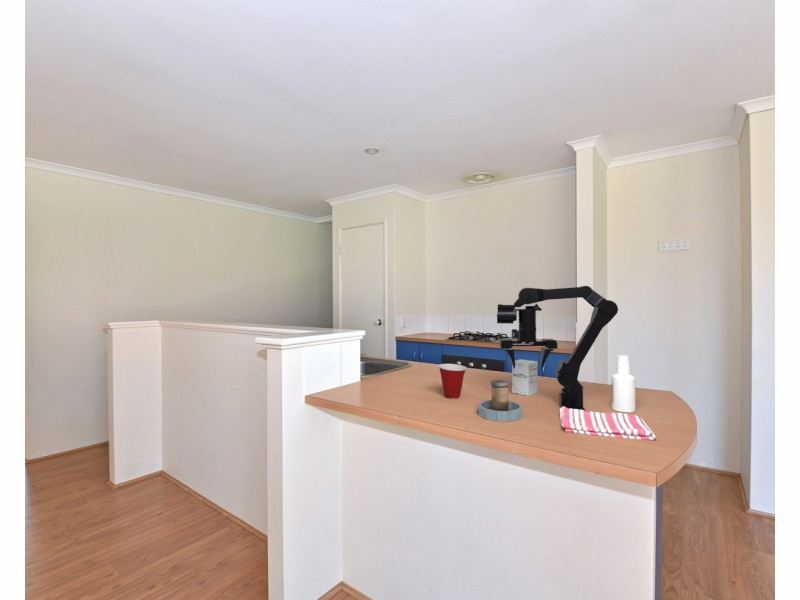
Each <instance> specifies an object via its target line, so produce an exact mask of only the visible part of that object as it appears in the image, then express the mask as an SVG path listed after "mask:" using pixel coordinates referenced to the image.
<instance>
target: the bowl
mask: <svg viewBox="0 0 800 600" xmlns="http://www.w3.org/2000/svg"><path fill="white" fill-rule="evenodd" d="M477 405H478V408H477V411H478V417H480V416H481V417H480V418H482V417H483V418H482V419H484V418H485V419H484V420H489V421H493V420H494V421H493V422H505V421H509V422H514V420H515V421H518V420H520V419H522V418H523V417H524V416H523V410H524V409H523V406H522V404H520V403H518V402H516V401H513V400H508V411H495V410H492V399H488V400H487V399H486V400H482V401H480V402H479V403H477Z"/></svg>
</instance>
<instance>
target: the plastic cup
mask: <svg viewBox="0 0 800 600" xmlns="http://www.w3.org/2000/svg"><path fill="white" fill-rule="evenodd" d="M438 368H439V373H440V378H441V383H442V385H441V386H442V388H443V395H444V398H446V399H451V398H455V399H459V398H460V397H461V394H462V393H461V392H462V387H463V381H464V376H465V373H466V370H467V369H468V368H467V366H464V365H460V364H456V363H440V364H438ZM458 397H459V398H458Z"/></svg>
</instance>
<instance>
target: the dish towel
mask: <svg viewBox="0 0 800 600" xmlns="http://www.w3.org/2000/svg"><path fill="white" fill-rule="evenodd" d="M559 418H560V424H561V427H562V429H564V431H565V433H568V432H571V433H572V432H574V433H573V434H578V433H580V435H586V434H588V436H598V435H599V437H607V436H609V438H619V437H621V439H628V440H630V439H631V440H639V439H640V440H642V441H646V440H647V441H654V440H655V439H657V437H656V435H655V433H654V432H653V431H652V430H651V428H650V427H649V426H648V424H647V423H646V422H645V421H644V419H643V418H642V417H640V416H639V415H636V414H635V415H634V414H630V413H624V412H597V411H587V410H578V409H572V408H571V409H568V408H566V407H565V406H563V407H560V408H559Z"/></svg>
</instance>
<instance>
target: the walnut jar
mask: <svg viewBox="0 0 800 600" xmlns="http://www.w3.org/2000/svg"><path fill="white" fill-rule="evenodd" d="M490 385H491V400H492V410H495V411H508V401H509V381H508V380H501V379H494V380H491V381H490Z"/></svg>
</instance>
